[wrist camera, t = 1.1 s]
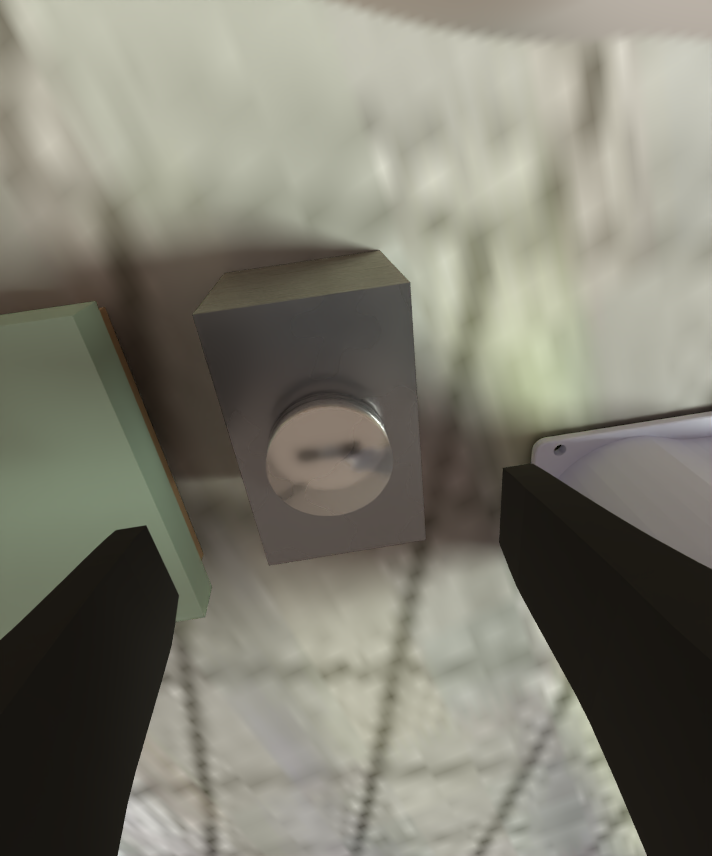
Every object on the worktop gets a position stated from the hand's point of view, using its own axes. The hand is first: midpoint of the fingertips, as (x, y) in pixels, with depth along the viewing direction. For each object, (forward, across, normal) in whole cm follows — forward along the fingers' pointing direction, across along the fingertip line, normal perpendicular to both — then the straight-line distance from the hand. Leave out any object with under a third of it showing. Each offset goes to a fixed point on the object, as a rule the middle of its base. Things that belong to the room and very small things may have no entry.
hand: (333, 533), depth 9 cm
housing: (+8, 0, 0) cm, 8 cm away
